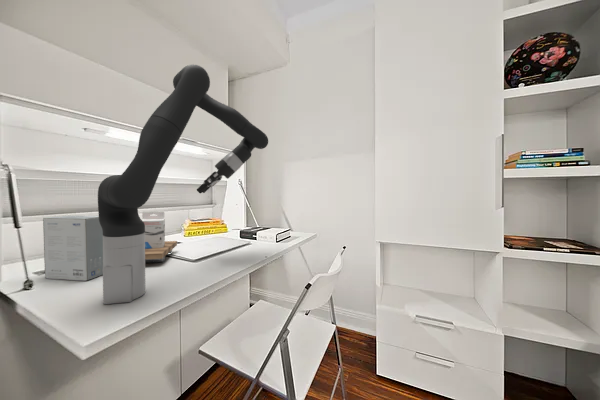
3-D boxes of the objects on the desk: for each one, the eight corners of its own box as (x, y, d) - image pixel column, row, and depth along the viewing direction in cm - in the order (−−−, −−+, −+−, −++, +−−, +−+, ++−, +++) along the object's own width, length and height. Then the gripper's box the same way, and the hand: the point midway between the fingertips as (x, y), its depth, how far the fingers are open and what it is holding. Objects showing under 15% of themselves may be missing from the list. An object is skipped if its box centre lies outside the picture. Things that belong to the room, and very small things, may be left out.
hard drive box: (109, 273, 81) (108, 216, 80) (86, 281, 73) (85, 218, 72) (69, 270, 82) (67, 214, 81) (43, 278, 75) (41, 217, 74)
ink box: (139, 249, 93) (138, 213, 93) (141, 246, 98) (141, 211, 97) (163, 247, 97) (163, 212, 96) (165, 245, 101) (165, 211, 101)
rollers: (163, 262, 93) (163, 255, 93) (128, 264, 90) (128, 257, 89) (172, 254, 105) (172, 247, 105) (141, 255, 102) (141, 248, 102)
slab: (162, 258, 88) (162, 253, 88) (119, 260, 85) (119, 255, 85) (176, 245, 110) (176, 240, 110) (143, 246, 106) (143, 242, 106)
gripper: (223, 160, 104) (196, 185, 102) (221, 156, 90) (189, 184, 88) (235, 172, 106) (209, 197, 103) (235, 170, 92) (204, 198, 89)
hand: (200, 191), depth 96 cm, fingers open, 8 cm apart
